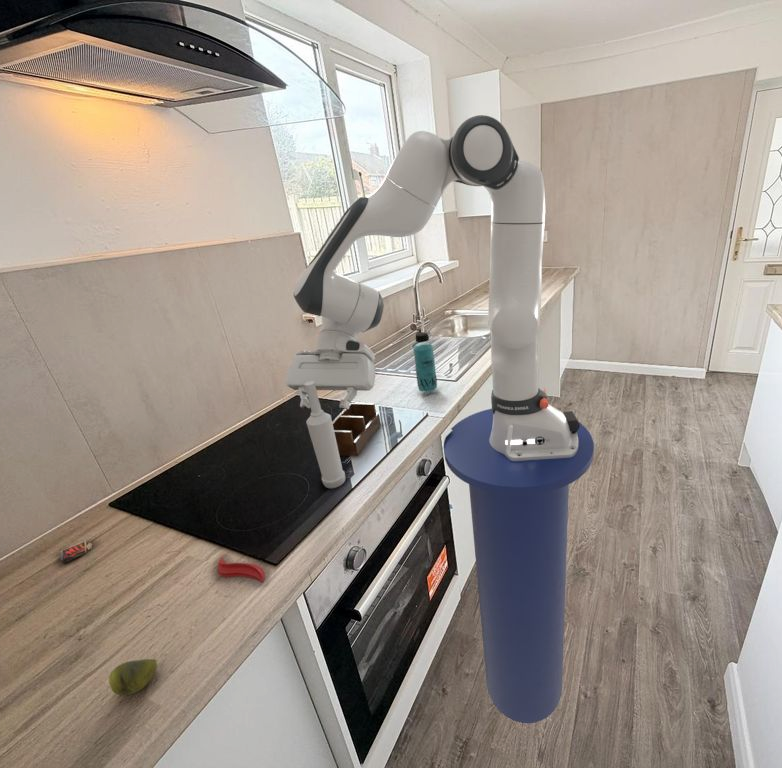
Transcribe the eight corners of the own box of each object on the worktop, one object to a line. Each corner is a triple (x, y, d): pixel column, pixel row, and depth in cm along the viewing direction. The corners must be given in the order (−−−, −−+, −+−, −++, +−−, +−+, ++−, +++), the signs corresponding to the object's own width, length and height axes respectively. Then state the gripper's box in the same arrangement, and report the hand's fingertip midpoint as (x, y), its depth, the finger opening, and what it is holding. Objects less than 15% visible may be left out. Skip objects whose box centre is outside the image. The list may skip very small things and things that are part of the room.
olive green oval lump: (113, 693, 56) (97, 670, 53) (152, 661, 59) (138, 638, 57) (128, 711, 53) (111, 688, 51) (168, 676, 57) (154, 653, 55)
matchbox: (65, 565, 78) (64, 563, 77) (56, 554, 80) (55, 552, 80) (95, 548, 81) (94, 546, 81) (86, 538, 84) (85, 536, 84)
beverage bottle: (414, 392, 136) (406, 334, 128) (430, 385, 140) (423, 329, 132) (426, 398, 132) (418, 338, 123) (442, 391, 135) (436, 332, 127)
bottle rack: (381, 425, 118) (377, 403, 115) (358, 456, 104) (353, 432, 101) (354, 424, 119) (350, 402, 117) (328, 454, 106) (322, 431, 103)
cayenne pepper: (210, 566, 75) (206, 558, 74) (234, 549, 78) (231, 541, 77) (245, 596, 68) (241, 588, 67) (270, 576, 72) (267, 568, 71)
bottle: (350, 478, 95) (327, 380, 85) (333, 491, 92) (306, 390, 81) (336, 472, 98) (311, 376, 88) (318, 484, 94) (291, 385, 84)
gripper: (287, 345, 94) (273, 403, 89) (371, 343, 90) (360, 404, 85) (302, 356, 100) (290, 411, 95) (381, 355, 95) (372, 413, 91)
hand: (324, 408), depth 90 cm, fingers open, 8 cm apart
